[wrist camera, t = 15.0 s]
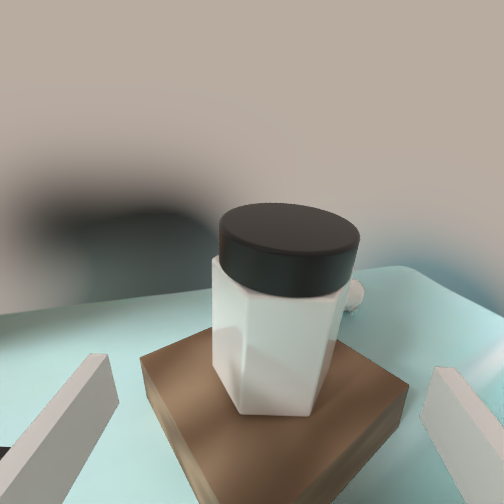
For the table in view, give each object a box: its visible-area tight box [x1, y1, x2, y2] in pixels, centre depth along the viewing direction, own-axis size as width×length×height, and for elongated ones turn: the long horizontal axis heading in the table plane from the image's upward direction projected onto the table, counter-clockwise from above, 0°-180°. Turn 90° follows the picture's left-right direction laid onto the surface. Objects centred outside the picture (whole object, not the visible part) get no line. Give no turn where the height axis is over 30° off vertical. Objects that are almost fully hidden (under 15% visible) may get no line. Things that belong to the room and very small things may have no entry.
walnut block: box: [140, 327, 409, 504], centre depth 23 cm, size 15×15×5 cm
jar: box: [212, 203, 360, 417], centre depth 19 cm, size 9×8×12 cm
